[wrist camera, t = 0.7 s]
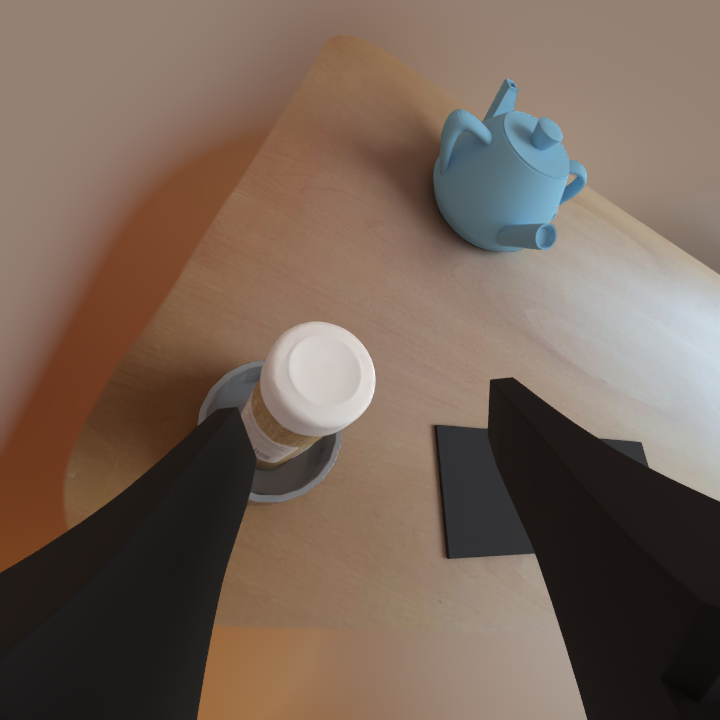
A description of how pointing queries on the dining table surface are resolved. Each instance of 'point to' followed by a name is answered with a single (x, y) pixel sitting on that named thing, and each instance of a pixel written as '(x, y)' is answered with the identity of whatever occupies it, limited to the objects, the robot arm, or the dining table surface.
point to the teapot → (503, 176)
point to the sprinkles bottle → (307, 391)
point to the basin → (298, 470)
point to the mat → (485, 495)
